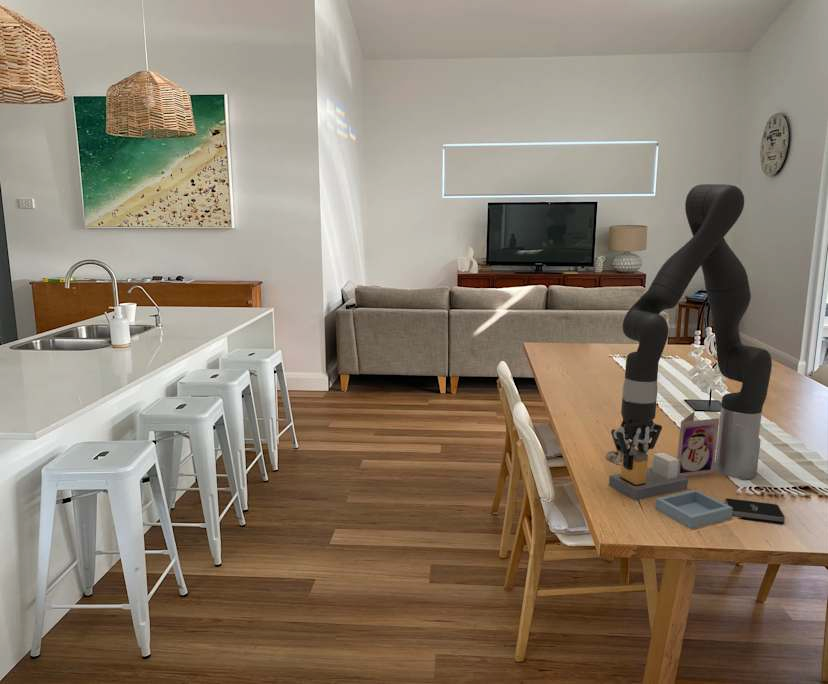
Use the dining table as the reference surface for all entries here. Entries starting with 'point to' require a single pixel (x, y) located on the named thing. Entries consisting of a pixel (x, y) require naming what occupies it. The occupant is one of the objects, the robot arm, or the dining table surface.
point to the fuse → (665, 466)
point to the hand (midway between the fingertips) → (633, 467)
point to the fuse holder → (648, 485)
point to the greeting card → (697, 446)
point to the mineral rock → (615, 457)
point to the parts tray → (693, 509)
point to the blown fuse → (636, 468)
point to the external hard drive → (756, 511)
